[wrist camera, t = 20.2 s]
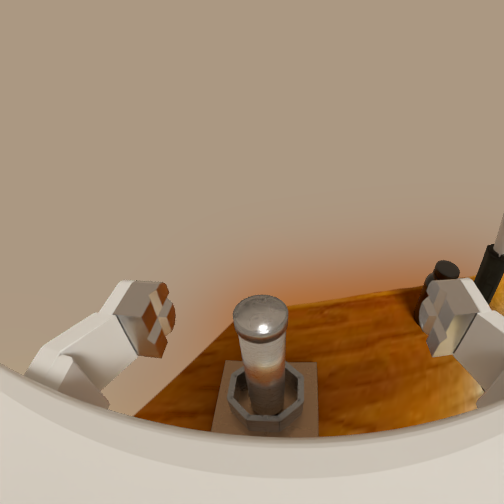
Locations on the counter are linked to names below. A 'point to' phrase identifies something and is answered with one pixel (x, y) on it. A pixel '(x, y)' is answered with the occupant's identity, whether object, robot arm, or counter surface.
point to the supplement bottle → (441, 272)
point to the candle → (491, 267)
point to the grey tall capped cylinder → (263, 350)
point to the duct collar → (278, 425)
